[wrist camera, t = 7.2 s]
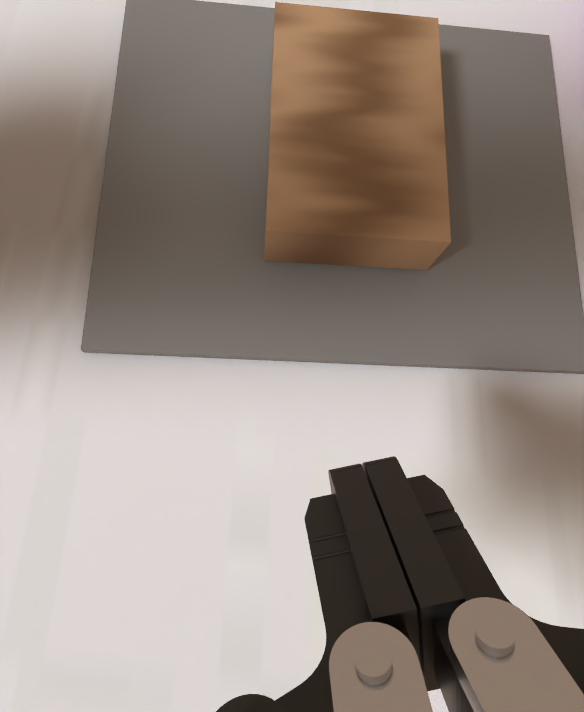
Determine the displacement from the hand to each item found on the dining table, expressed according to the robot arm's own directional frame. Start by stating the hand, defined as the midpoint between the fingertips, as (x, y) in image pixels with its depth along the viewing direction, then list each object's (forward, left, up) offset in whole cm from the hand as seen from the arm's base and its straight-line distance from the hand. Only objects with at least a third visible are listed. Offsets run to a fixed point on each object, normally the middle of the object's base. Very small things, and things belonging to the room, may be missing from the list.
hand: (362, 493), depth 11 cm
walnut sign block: (+2, +10, -9) cm, 14 cm away
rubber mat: (+2, +16, -11) cm, 19 cm away
